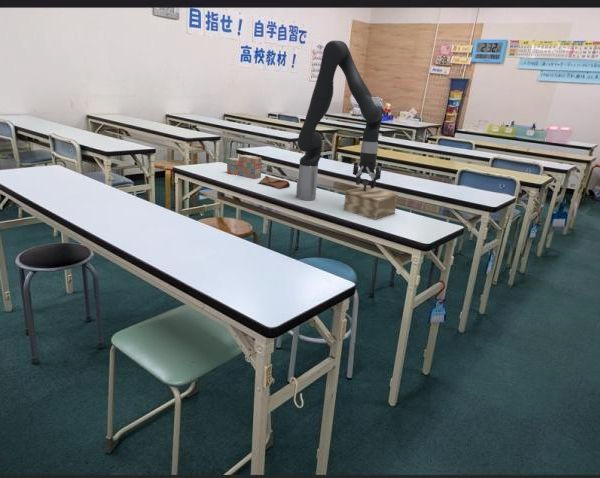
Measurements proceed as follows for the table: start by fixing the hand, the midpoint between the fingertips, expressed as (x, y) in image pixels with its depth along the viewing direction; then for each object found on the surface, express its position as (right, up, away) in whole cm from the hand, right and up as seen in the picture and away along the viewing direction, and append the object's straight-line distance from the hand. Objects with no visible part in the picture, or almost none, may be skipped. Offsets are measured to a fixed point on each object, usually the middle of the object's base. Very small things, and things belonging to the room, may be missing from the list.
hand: (365, 186), depth 206 cm
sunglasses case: (-46, +5, +41) cm, 61 cm away
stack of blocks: (-65, +13, +59) cm, 88 cm away
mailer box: (+2, -12, +2) cm, 12 cm away
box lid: (+3, -5, -1) cm, 5 cm away
